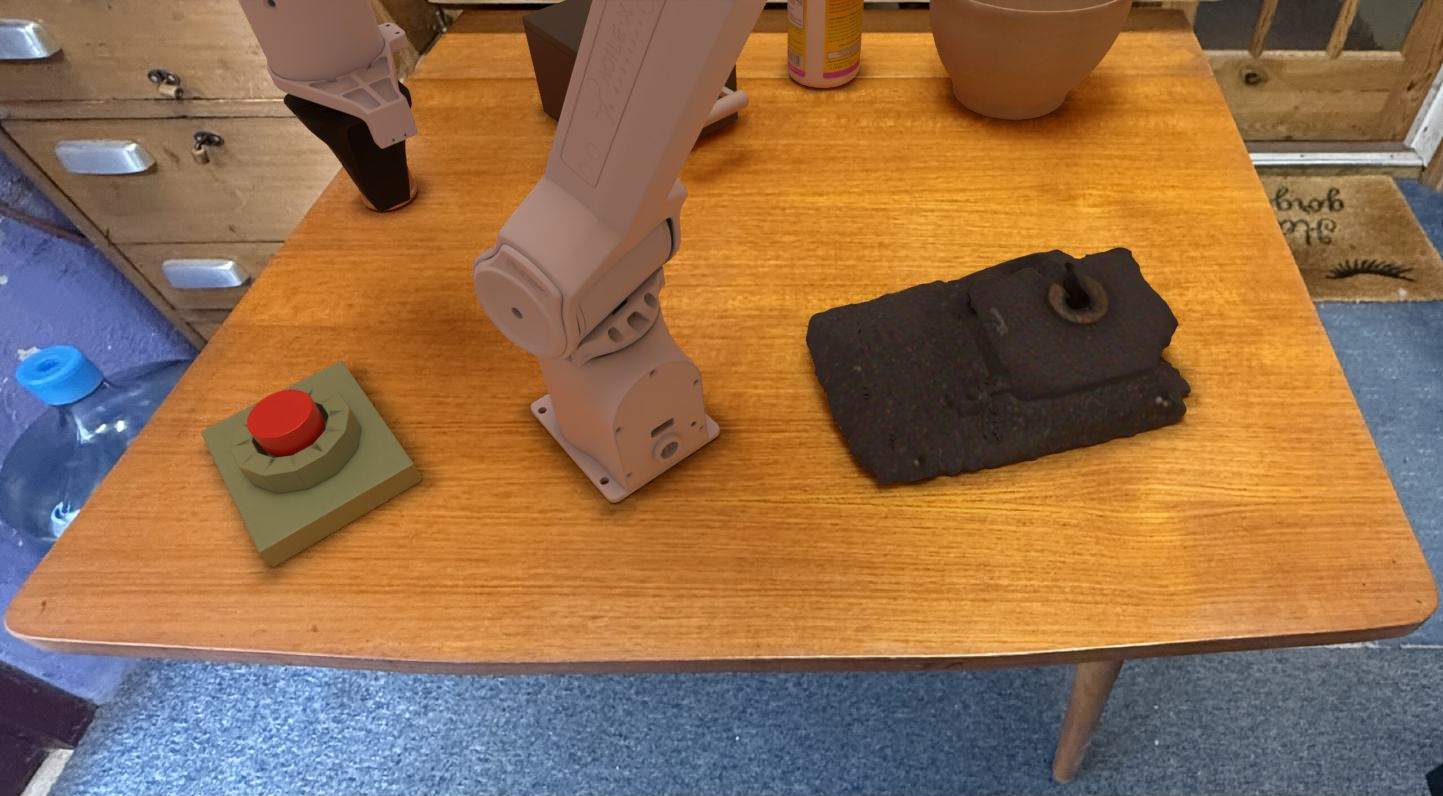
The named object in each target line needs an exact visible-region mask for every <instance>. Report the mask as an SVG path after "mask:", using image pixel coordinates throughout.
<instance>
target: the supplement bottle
mask: <svg viewBox="0 0 1443 796" xmlns="http://www.w3.org/2000/svg"><path fill="white" fill-rule="evenodd" d="M864 5H865V0H787V29H786V31H787V39H786V40H787V49H786V50H787V70H788V73H789V76H790V77H791V78H792V79H793V80H794V81H795V82H797V83H799V84H800V85H803V86H807V87H811V88H816V89H817V88H819V89H829V88H835V87H839V86H843V85H846V84H848V83H849V82H850V81H851V80H853V79H854V78H855V77H856V76H857V75H858V73H859V70H860V65H861V64H860V63H861V50H862V35H863V21H864Z"/></svg>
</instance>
